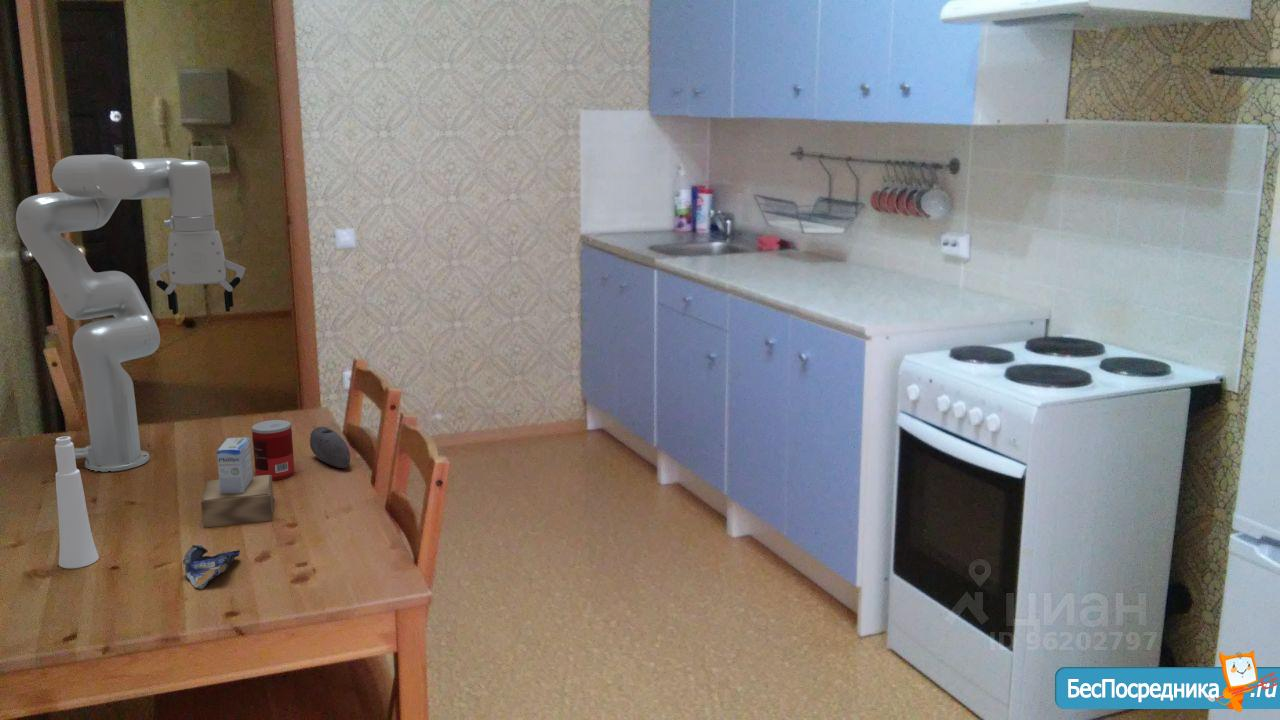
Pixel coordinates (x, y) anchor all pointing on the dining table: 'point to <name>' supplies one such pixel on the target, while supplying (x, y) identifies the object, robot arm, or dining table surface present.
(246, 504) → the block
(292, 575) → the dining table surface
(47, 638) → the dining table surface
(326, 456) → the perforated stone tool
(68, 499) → the cosmetic bottle
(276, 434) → the canned food
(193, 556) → the snack package
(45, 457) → the dining table surface
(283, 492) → the dining table surface
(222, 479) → the medicine box
